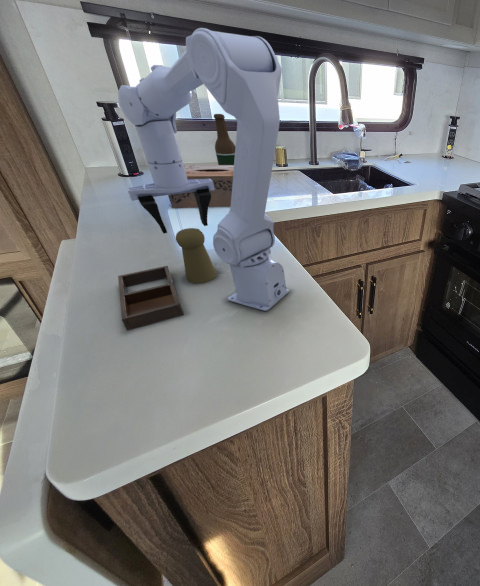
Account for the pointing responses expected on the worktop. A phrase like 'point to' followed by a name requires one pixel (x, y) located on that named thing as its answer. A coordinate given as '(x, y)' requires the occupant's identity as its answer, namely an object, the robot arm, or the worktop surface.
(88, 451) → the worktop surface
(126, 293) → the caddy
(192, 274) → the cork
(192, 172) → the tissue box cover
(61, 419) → the worktop surface
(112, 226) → the worktop surface
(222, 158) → the brown beer bottle
